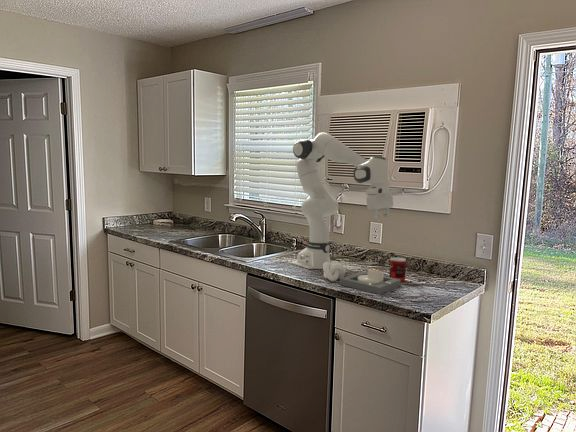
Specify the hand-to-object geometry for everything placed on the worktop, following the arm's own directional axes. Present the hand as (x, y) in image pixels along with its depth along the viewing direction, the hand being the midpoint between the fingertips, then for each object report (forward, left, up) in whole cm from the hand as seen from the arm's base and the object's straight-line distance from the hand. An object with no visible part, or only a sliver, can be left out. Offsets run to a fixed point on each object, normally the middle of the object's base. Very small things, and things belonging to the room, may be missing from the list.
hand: (381, 217), depth 220 cm
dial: (+1, -9, -31) cm, 32 cm away
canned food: (+6, +9, -32) cm, 34 cm away
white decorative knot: (-18, -14, -32) cm, 40 cm away
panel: (+1, -9, -32) cm, 33 cm away
